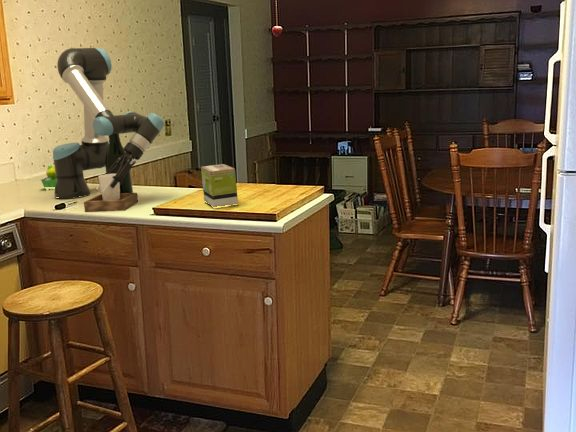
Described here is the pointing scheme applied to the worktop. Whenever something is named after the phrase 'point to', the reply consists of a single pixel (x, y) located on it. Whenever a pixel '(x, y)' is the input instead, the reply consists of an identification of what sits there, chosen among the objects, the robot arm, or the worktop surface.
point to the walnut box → (111, 203)
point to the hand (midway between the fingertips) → (102, 192)
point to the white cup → (104, 182)
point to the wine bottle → (112, 155)
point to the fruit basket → (50, 177)
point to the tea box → (219, 185)
